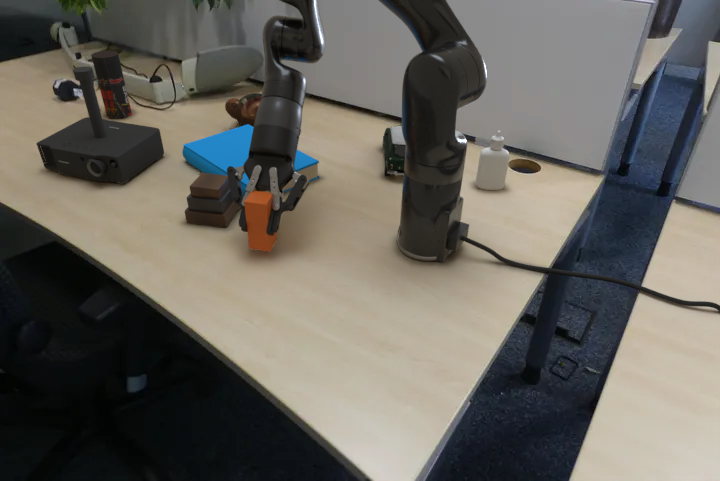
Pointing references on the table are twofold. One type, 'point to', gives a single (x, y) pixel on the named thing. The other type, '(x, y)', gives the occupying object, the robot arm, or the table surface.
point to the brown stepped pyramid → (211, 201)
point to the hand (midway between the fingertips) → (257, 232)
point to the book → (237, 155)
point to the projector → (100, 143)
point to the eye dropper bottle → (493, 165)
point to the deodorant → (111, 84)
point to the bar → (259, 220)
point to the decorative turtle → (244, 108)
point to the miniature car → (394, 151)
